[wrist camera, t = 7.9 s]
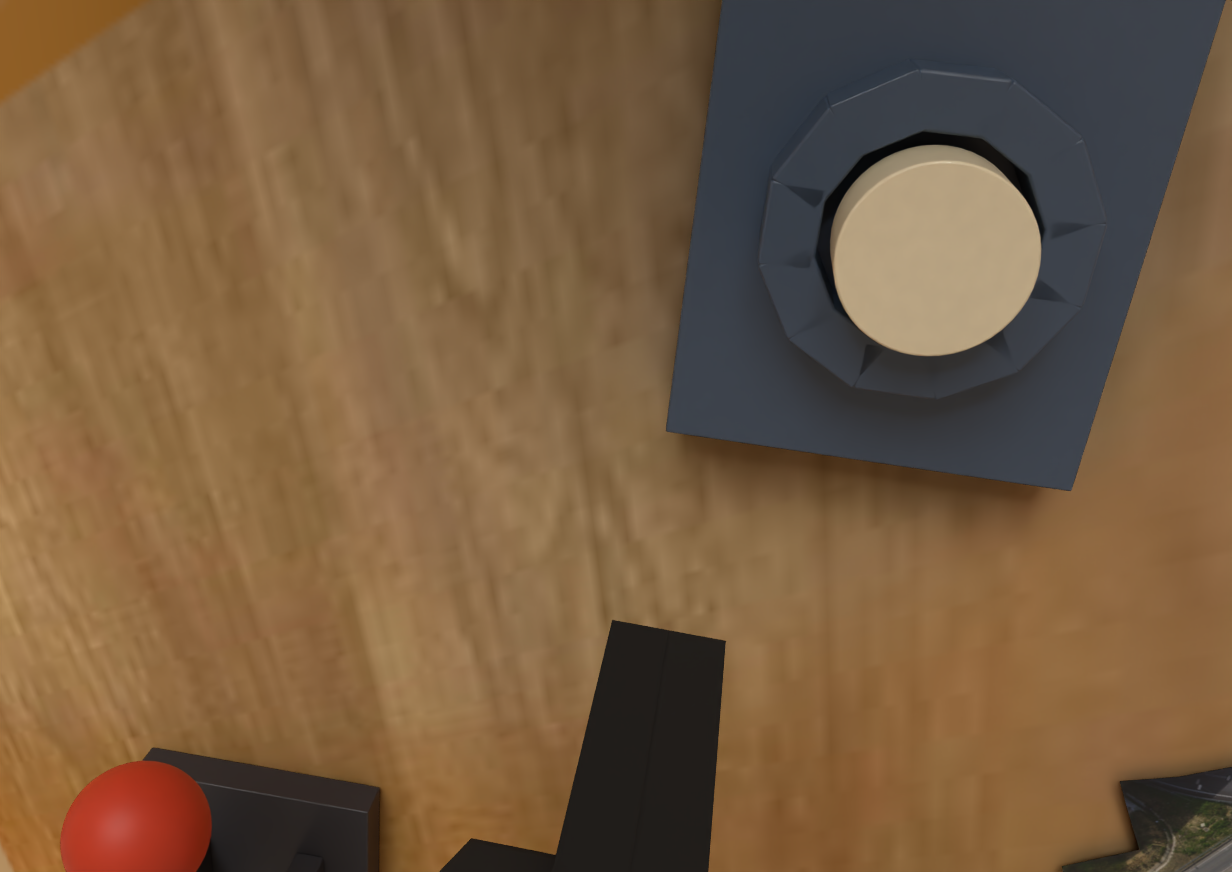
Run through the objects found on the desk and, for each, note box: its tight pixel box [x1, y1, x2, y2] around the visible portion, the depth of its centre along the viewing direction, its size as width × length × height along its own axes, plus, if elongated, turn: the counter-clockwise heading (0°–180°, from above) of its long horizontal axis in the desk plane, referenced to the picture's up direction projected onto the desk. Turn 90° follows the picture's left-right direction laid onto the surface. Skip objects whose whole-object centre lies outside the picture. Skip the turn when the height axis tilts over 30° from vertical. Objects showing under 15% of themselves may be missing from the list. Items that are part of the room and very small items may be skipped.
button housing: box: [666, 0, 1226, 491], centre depth 25 cm, size 12×10×4 cm
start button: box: [830, 145, 1041, 356], centre depth 23 cm, size 4×4×2 cm
